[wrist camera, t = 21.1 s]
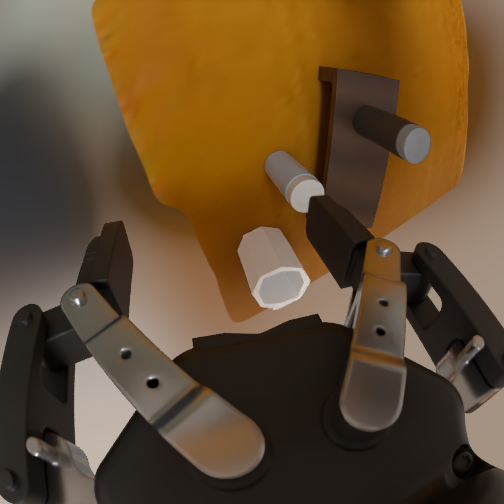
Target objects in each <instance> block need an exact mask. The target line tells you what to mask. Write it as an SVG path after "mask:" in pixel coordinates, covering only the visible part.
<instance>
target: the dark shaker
mask: <svg viewBox="0 0 504 504" xmlns="http://www.w3.org/2000/svg"><path fill="white" fill-rule="evenodd" d="M353 126H354V129H355V131H356V132H357V133H358V134H359V135H361V136H363V137H365V138H367V139H369V140H370V141H372V142H374V143H376V144H378V145H379V146H381V147H383V148H385V149H386V150H388V151H390V152H392V153H393V154H395V155H397V156H398V157H400V158H402V159H405V160H406V161H408V162H410V163H412V164H416V163H419V162H421V161H422V160H424V158H425V157H426V156H427V154H428V152H429V149H430V144H431V140H430V136H429V133H428V132H427V130H425V129H424V128H422V127H420V126H418V125H417V124H415V123H413V122H411V121H408V120H406V119H404V118H401V117H399V116H396V115H394V114H391V113H389V112H386V111H384V110H381V109H378V108H376V107H373V106H370V105H364V106H362V107H360V108H359V109H358V110H357V111H356V112H355V114H354V117H353Z"/></svg>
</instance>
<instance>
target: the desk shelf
mask: <svg viewBox="0 0 504 504" xmlns="http://www.w3.org/2000/svg"><path fill="white" fill-rule="evenodd" d="M319 80H321V81H326V82H331V83H332V94H331V107H330V118H329V129H328V139H327V149H326V158H325V166H324V175H323V183H322V186H323V188H324V195H329V196H330V197H331V198H332V199H333V200H334V201H335V202H336V203H337V205H341V206H343V207H344V208H346V209H348V210H349V211H350V212H351V213H352V214H353V215H354V216H355V218H357V219H358V220H359V221H360V223H362V224H363V225H364V226H365V227H366V228H371V227H372V226H373V222H374V218H375V214H376V210H377V206H378V202H379V198H380V194H381V189H382V185H383V180H384V176H385V171H386V166H387V161H388V156H389V151H388V150H386V149H385V148H383V147H381V146H379V145H378V144H376V143H374V142H372V141H370V140H369V139H367V138H365V137H363V136H361V135H359V134H358V133H357V132H356V131H355V129H354V126H353V117H354V114H355V112H356V111H357V110H358V109H359V108H360V107H362V106H364V105H370V106H373V107H376V108H378V109H381V110H384V111H386V112H389V113H391V114H394V115H395V114H396V106H397V99H398V90H399V80H395V79H391V78H386V77H382V76H377V75H372V74H367V73H362V72H356V71H350V70H344V69H337V68H329V67H321V66H319ZM307 214H308V212H307ZM306 218H307V215H306Z"/></svg>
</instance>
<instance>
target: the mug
mask: <svg viewBox="0 0 504 504" xmlns="http://www.w3.org/2000/svg"><path fill="white" fill-rule="evenodd" d="M237 252H238V254H239V257H240V260H241V263H242V266H243V269H244V272H245V275H246V278H247V281H248V284H249V287H250V289H251V292H252V295H253V296H254V297H255V299H256V300H257V302H258V303H259V305H260V306H261V307H268V308H270V309H272V310H275V309H280V308H281V307H283V306H285V305H287V304H289V303H291V302H293V301H296V300H297V299H299V298H301V296H302V295H303V293H304V291H305V290H306V288H307V286H308V285H309V283H310V279H309V277H308V275H307V274H306V272H305V270H304V268H303V267H302V265H301V263H300V261H299V260H298V258H297V256H296V254H295V253H294V251H293V249H292V248H291V246H290V244H289V242H288V241H287V239H286V238H285V236H284V235H283V233H282V232H281V230H280V229H279V228H272V227H264V226H261V227H259V228H257V229H255V230H252V231H250V232H248V233H246V234H244V235H243V238H242V240H241V243H240V245H239V248H238V250H237Z"/></svg>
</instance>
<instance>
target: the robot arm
mask: <svg viewBox="0 0 504 504" xmlns="http://www.w3.org/2000/svg"><path fill="white" fill-rule="evenodd" d="M306 234H307V237H308V239H309V241H310V242H311V244H312V245H313V247H314V248H315V250H316V251H317V253H318V254H319V256H320V257H321V259H322V260H323V262H324V263H325V265H326V266H327V268H328V269H329V271H330V273H331V274H332V276H333V277H334V279H335V280H336V282H337V283H338V285H339V286H340V288H341V289H342V288H346V287H350V286H352V288H353V291H352V294H351V298H350V302H349V306H348V311H347V315H346V319H345V323H344V325H340V324H335V323H327V322H322V321H321V319H320V317H319V315H318V314H315V315H310V316H306V317H302V318H297V319H293V320H289V321H287V322H284V323H282V324H280V325H278V326H276V327H274V328H272V329H269V330H267V331H265V332H263V333H259V334H239V333H237V334H236V333H235V334H234V333H223V334H216V335H211V336H204V337H198V338H193V339H192V340H193V348H192V349H190V350H187V351H185V352H184V353H182V354H180V355H179V356H177V357H176V358H174V360H171V359H170V358H169V357H167V356H166V355H165V354H164V353H163V352H162V351H160V349H159V348H158V347H157V346H156V345H155V344H154V343H152V342H151V341H150V340H149V339H148V338H147V337H146V336H145V335H144V334H143V333H142V332H141V331H140V330H139V329H138V328H137V327H136V326H135V325H134V324H133V323H132V322H131V321H130V320H129V305H130V292H131V280H132V271H133V256H132V251H131V248H130V245H129V241H128V237H127V234H126V230H125V227H124V224H123V222H122V221H116V222H110V223H105V224H104V227H103V230H102V233H101V236H99V237H95V238H94V239H93V240H92V241H91V243H90V244H89V245H88V247H87V250H86V253H85V257H84V259H83V263H82V266H81V269H80V272H79V276H78V279H77V283H76V285H74V286H73V287H71V288H69V289H68V290H67V291H66V292H65V293H64V295H63V296H62V298H61V302H60V305H59V306H57V307H55V308H53V309H50V310H48V311H45V312H42V310H41V309H40V307H39V306H38V305H35V304H29V305H27V306H24V307H22V308H21V309H20V310H19V311H18V312H17V313H16V314H15V316H14V317H13V320H12V323H11V327H10V330H9V334H8V338H7V342H6V346H5V350H4V355H3V360H2V365H1V369H0V495H1V496H2V497H3V498H4V499H5V500H6V501H8V502H10V503H12V504H504V471H503V470H502V469H499V468H497V467H494V466H492V465H490V464H488V463H487V462H485V461H483V460H482V459H481V458H479V457H478V456H477V455H476V454H475V453H474V452H473V450H472V449H471V447H470V445H469V442H468V437H467V433H466V426H465V414H464V413H471V412H473V411H475V410H476V409H478V408H479V407H480V406H481V405H483V404H484V403H485V402H486V401H488V400H489V399H490V398H491V397H493V396H494V395H495V394H496V393H497V392H499V390H501V389H502V388H503V387H504V328H503V327H502V325H501V324H500V322H499V321H498V320H497V318H496V317H495V316H494V314H493V313H492V311H491V310H490V309H489V307H488V306H487V305H486V303H485V302H484V301H483V299H482V298H481V297H480V295H479V294H478V293H477V292H476V290H474V288H473V287H472V285H470V283H469V282H468V281H467V279H466V278H465V277H464V276H463V275H462V273H461V272H460V271H459V270H458V269H457V268H456V266H455V265H454V264H453V263H452V262H451V261H450V260H449V259H448V258H447V256H446V255H445V254H444V253H443V252H442V251H441V250H440V249H439V248H438V247H436V246H435V245H433V244H430V243H426V242H421V243H418V244H417V245H416V248H415V250H414V253H413V252H401V251H400V250H399V248H398V247H397V246H396V245H395V244H394V243H392V242H391V241H389V240H386V239H383V238H375V237H374V236H373V235H372V234H371V233H370V232H369V231H368V230H367V229H366V227H365V226H364V225H363V224H362V223H360V221H359V220H358V219H357V218H355V216H354V215H353V214H352V213H351V212H350V211H349V210H348V209H346V208H344V207H343V206H341V205H337V203H336V202H335V201H334V200H333V199H332V198H331V197H330V196H329V195H318V196H311V197H310V199H309V206H308V214H307V222H306ZM431 287H433V288H434V290H435V291H436V292H437V294H438V295H439V296H440V298H441V301H442V308H441V311H440V312H439V311H438V310H437V308H436V307H435V305H434V304H433V302H432V301H431V300H430V298H429V297H428V296H427V294H428V293H429V291H430V289H431ZM406 318H407V319H408V321H409V322H410V324H411V325H412V327H413V329H414V330H415V332H416V334H417V335H418V337H419V339H420V340H421V342H422V343H423V345H424V347H425V349H426V351H427V352H428V354H429V356H430V357H431V359H432V361H433V363H434V364H435V366H436V373H435V372H433V371H431V370H429V369H427V368H425V367H423V366H422V365H420V364H418V363H416V362H413V361H412V360H410V359H408V358H406V357H404V346H405V332H406ZM92 356H93V357H94V358H95V360H96V361H97V362H98V364H99V365H100V366H101V368H102V369H103V370H104V371H105V373H106V374H107V375H108V376H109V378H110V379H111V380H112V382H113V383H114V384H115V385H116V387H117V388H118V389H119V390H120V391H121V392H122V394H123V395H124V396H125V397H126V398H127V400H128V401H129V402H130V403H131V404H132V405H133V406H134V407H135V408H136V411H135V413H134V414H133V416H132V417H131V419H130V420H129V422H128V423H127V425H126V426H125V428H124V429H123V431H122V432H121V434H120V435H119V437H118V438H117V440H116V441H115V443H114V444H113V446H112V447H111V449H110V450H109V452H108V453H107V455H106V456H105V458H104V459H103V461H102V462H101V464H100V465H99V467H98V469H97V472H96V475H94V474H93V472H92V471H91V469H90V466H89V462H88V459H87V456H86V455H85V453H84V452H83V451H82V450H81V449H80V448H79V447H77V446H76V445H75V428H74V380H75V363H77V362H80V361H82V360H85V359H87V358H90V357H92Z"/></svg>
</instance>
